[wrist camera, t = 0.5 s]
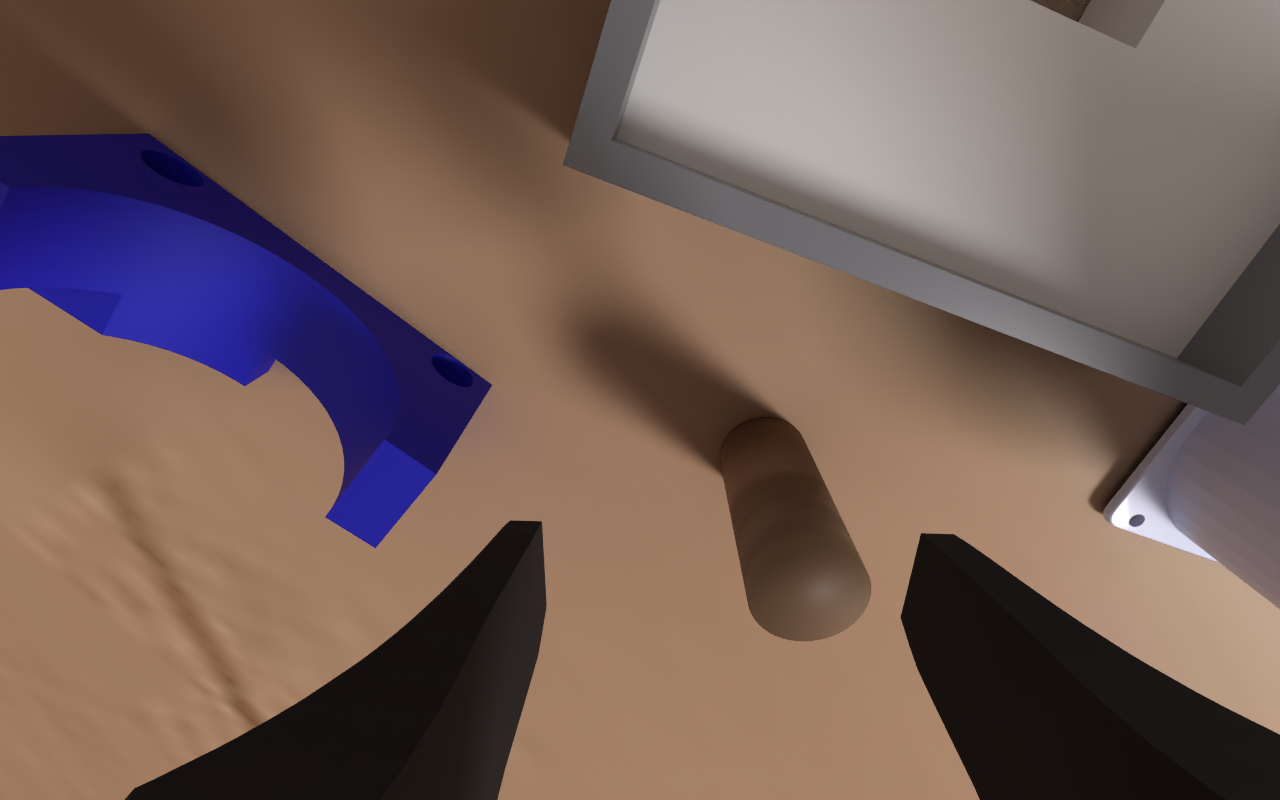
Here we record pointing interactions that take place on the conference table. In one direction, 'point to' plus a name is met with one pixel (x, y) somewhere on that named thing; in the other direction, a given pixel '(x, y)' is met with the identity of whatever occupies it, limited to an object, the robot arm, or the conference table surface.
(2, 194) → the cable clip
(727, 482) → the peg
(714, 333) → the conference table surface
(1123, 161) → the box
